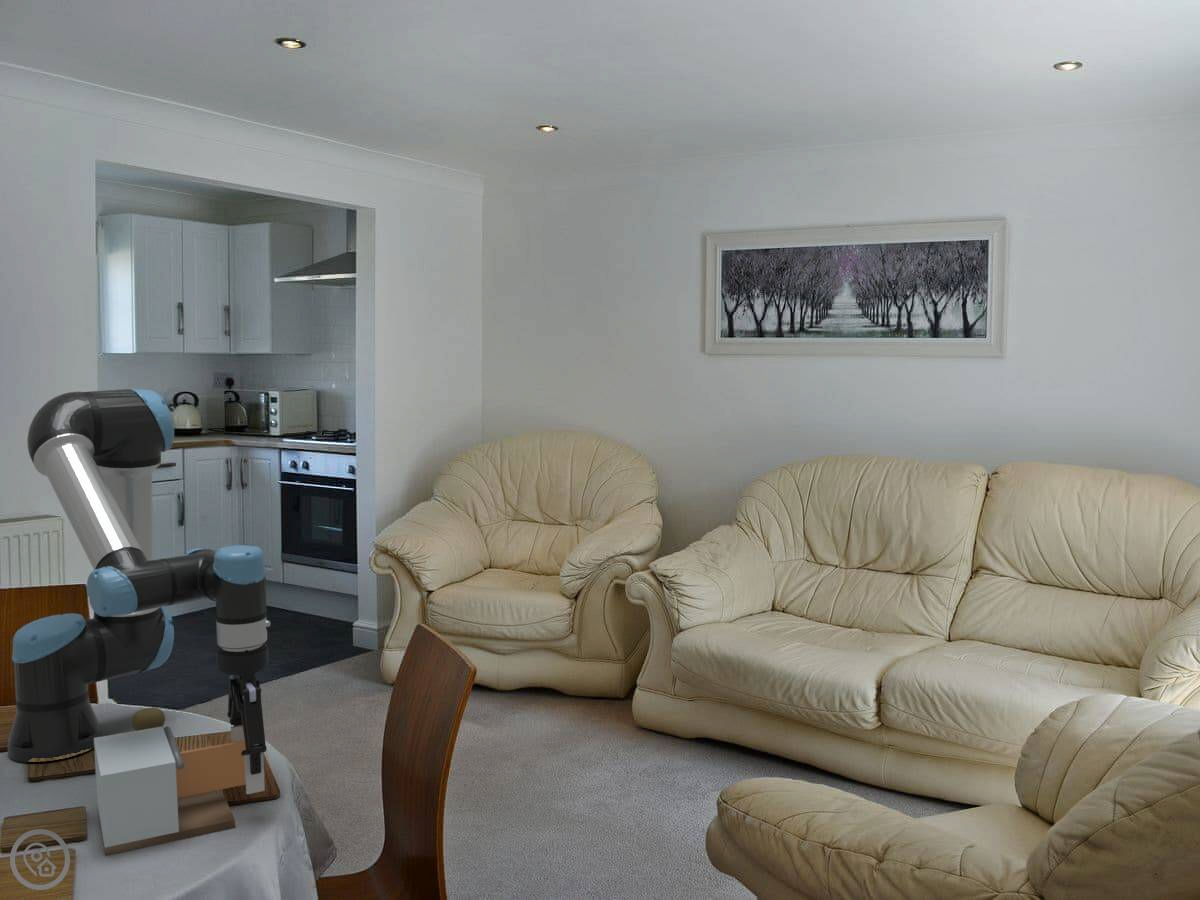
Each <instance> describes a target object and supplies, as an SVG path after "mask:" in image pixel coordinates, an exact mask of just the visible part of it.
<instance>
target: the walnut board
mask: <svg viewBox="0 0 1200 900" xmlns="http://www.w3.org/2000/svg"><path fill="white" fill-rule="evenodd" d="M96 804H97V803H96ZM177 804H178V825H179V832H176V833H171V834H166V835H162V836H157V837H152V838H148V839H143V840H138V841H134V842H129V843H124V844H120V845H115V846H110V847H105V846H104V840H103V834H102V828H101V822H100V816H99V810H98V809H97V813H98V820H99V826H100V832H101V839H102V844H103V845H102V846H103V851H104V856H109V855H113V854H119V853H123V852H128V851H133V850H138V849H142V848H147V847H151V846H155V845H160V844H165V843H170V842H174V841H178V840H183V839H187V838H189V839H190V838H191V837H192V838H193V837H196V836H201V835H207V834H212V833H215V832H219V831H224V830H230V829H233V828H236V819H235V817H234V815H233V813H232V811H231V808H230V806H229V803H228V801H227V799H226V797H225V794H224V792H223V789H220V790H215V791H210V792H205V793H200V794H195V795H190V796H185V797H180V798H177ZM97 806H98V804H97Z"/></svg>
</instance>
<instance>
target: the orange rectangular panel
mask: <svg viewBox="0 0 1200 900" xmlns="http://www.w3.org/2000/svg"><path fill="white" fill-rule="evenodd" d="M255 745H259V744H255ZM245 749H246V747H245V740H243V741H238V742H232V743H231V742H227V743H222V744H216V745H211V746H206V747H205V746H204V747H200V748H193V749H188V750H183V751H179V752H180V754H181V757H182V760H183V762H184V768H183V769H181V770H178V769H176V782H177V798H180V797H185V796H190V795H195V794H200V793H205V792H210V791H215V790H220V789H221V790H224V789H229V788H230V789H231V788H234V787H238V786H239V787H240V786H244V785H245V786H246V784H245V758H244V755H243V756H242V755H241V752H242V751H244V750H245Z"/></svg>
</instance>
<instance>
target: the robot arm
mask: <svg viewBox="0 0 1200 900" xmlns="http://www.w3.org/2000/svg"><path fill="white" fill-rule="evenodd" d="M26 440H27V441H26V443H27V449H28V450H27V451H28V455H29V457H30V460H31V462H32V463H33V466H34V468H35V470H36V471H37V472H38V473H39V474H41V475H42V476H44V477H46V478H47V479H48V481H49V483H50V485H51V487H52V489H53V491H54V493H55V495H56V497H57V499H58V501H59V503H60V505H61V506H62V509H63V511H64V513H65V515H66V517H67V519H68V520H69V522H70V525H71V527H72V529H73V530H74V532H75V535H76V537H77V539H78V541H79V542H80V545H81V547H82V548H83V550H84V553H85V555H86V557H87V559H88V560H89V563H90V565H91V567H92V569H93V570H92V571H91V572H90V573H89V575H88V578H87V583H86V592H87V596H88V599H89V605H90V607H91V609H92V611H93V618H88V619H85V617H84V616H83V615H82V614H79V613H71V612H69V613H64V614H54V615H49V616H45V617H42V618H39V619H36V620H33V621H31V622H29V623H26V624H25V625H23V626H22V627H21V628H19V629H18V630H17V631H16V632H15V634H14V635H13V639H12V653H11V654H12V655H11V660H12V664H13V675H14V676H13V677H14V688H15V689H14V692H15V693H14V694H15V703H16V704H15V705H16V708H15V709H16V712H15V715H14V719H13V723H12V725H11V729H10V732H9V736H8V740H7V756H8V758H10V759H11V760H12V761H15V762H19V763H26V764H28V763H27V762H28V761H29V760H30V759H32V758H53V757H59V756H62V755H67V754H71V753H77V752H80V751H81V750H86V749H90V748H94V738H97V737H103V736H102V728H101V725H100V722H99V721H98V718H97V716H96V713H95V711H94V708H93V707H92V704H91V702H90V698H89V685H90V684H93V683H98V682H102V681H106V680H111V679H116V678H121V677H124V676H129V675H134V674H143V673H144V672H146V671H149V670H152V669H156V668H159V667H161V666H162V665H164V664H165V662H166V661H167V660H168V658H170V655H171V652H172V650H173V646H174V641H175V629H174V625H173V624H172V623H173V618H172V614H171V613H170V611H169V610H168V609H167V608H165V607H167V606H169V607H171V606H175V605H180V604H185V603H186V604H187V603H191V602H197V601H202V600H209V601H213V602H215V612H216V616H215V617H216V619H215V625H216V644H217V645H218V646H219V648H218V649H217V661H218V667H217V668H218V670H219V671H220V673H221V674H225V675H227V676H228V701H227V702H228V704H227V717H228V719H229V724H230V741H231V742H230V743H232V742H238V741H243V740H245V747H246V749H245V750H244V751H242V752H241V755H242V756H243V755H244V758H245V794H246V795H251V794H255V793H256V794H257V793H261V792H265V790H266V788H265V787H266V786H265V764H264V763H265V761H264V757H265V756H264V753H266V752H267V744H266V736H265V735H266V734H265V724H264V716H263V707H262V705H263V704H262V689H261V686H260V681H259V680H257V678H256V674H257V673H259V672H262V671H264V670H265V669H267V667H268V665H269V647H268V646H269V645H268V644H267V643H266V642H267V640H268V630H267V628H269V627H270V626H271V621H270V620H268V619H267V586H266V585H267V579H266V577H267V569H266V566H265V554H264V551H263V550H262V548H260V547H258V546H254V545H246V544H245V545H243V544H242V545H238V544H237V545H232V546H231V545H229V546H225V547H222V548H219V549H218V550H215V549H212V548H201V547H199V548H197V547H195V548H192V549H189V550H187V551H186V552H184V553H183V554H182V555H177V556H171V557H166V558H159V559H153V472H154V471H155V469H157V468H158V467H160V465H161V464H162V453H165V452H166V451H169V450H170V449H171V448H172V447H173V443H174V441H175V427H174V422H173V418H172V414H171V411H170V408H169V406H168V404H167V403H166V401H165V399H164V398H163V397H162V396H161V395H160V394H158V392H156V391H153V390H151V389H135V388H134V389H133V388H129V389H128V388H127V389H111V390H110V389H109V390H107V389H106V390H95V391H71V392H65V393H62V394H60V395H57V396H55V397H53V398H51V399H50V400H48V401H47V402H45V403H44V404H43V406H42V407H40V408H39V409H38V411H37V412H36V414H35V415H34V416H33V419H32V421H31V424H30V425H29V428H28V435H27V439H26ZM255 744H259V745H255Z"/></svg>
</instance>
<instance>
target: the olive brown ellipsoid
mask: <svg viewBox="0 0 1200 900" xmlns="http://www.w3.org/2000/svg"><path fill="white" fill-rule="evenodd" d="M165 721H166V715H165V713H164V711H163V710H162V709H161V708H157V707H147V708H142V709H139V710H137V711H136V712H135V713H134V714H133V716H132V718H131V725H132V728H133V729H134V731H138V730H144V729H150V728H156V727H162V726H163V727H164V725H165Z"/></svg>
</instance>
